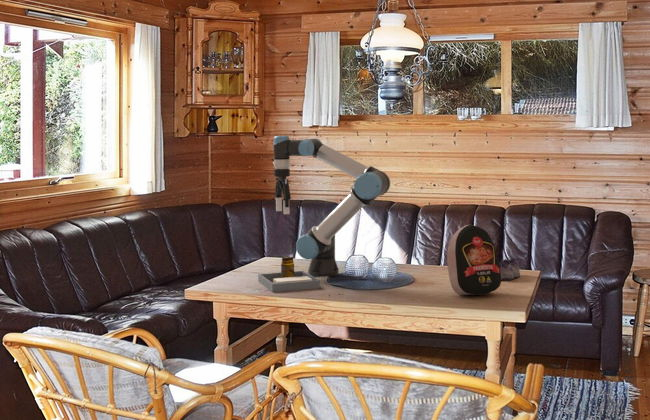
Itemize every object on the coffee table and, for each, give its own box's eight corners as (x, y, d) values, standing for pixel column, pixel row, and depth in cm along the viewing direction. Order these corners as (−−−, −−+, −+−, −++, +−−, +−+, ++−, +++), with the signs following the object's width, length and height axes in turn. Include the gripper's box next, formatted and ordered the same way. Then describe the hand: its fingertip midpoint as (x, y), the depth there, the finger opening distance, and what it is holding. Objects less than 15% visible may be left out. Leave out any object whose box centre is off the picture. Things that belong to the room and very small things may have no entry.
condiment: (298, 283, 406) (297, 257, 404) (281, 285, 401) (281, 259, 400) (290, 280, 412) (289, 255, 411) (274, 282, 408) (273, 257, 406)
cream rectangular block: (307, 284, 402) (306, 276, 401) (312, 287, 394) (312, 279, 394) (273, 287, 397) (273, 278, 396) (277, 290, 389) (277, 281, 389)
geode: (501, 273, 428) (504, 253, 427) (523, 278, 423) (527, 258, 421) (486, 279, 411) (489, 258, 410) (510, 284, 405) (513, 263, 404)
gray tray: (303, 280, 418) (303, 270, 417) (320, 290, 393) (319, 280, 393) (258, 283, 411) (258, 274, 411) (272, 294, 387) (272, 284, 386)
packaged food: (463, 301, 367) (464, 230, 364) (439, 292, 385) (439, 224, 382) (507, 296, 376) (508, 226, 372) (481, 288, 394) (482, 221, 390)
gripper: (267, 167, 429) (268, 210, 431) (281, 170, 405) (282, 215, 408) (282, 166, 431) (283, 209, 434) (296, 169, 408) (297, 215, 410)
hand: (282, 212), depth 421 cm, fingers open, 13 cm apart
